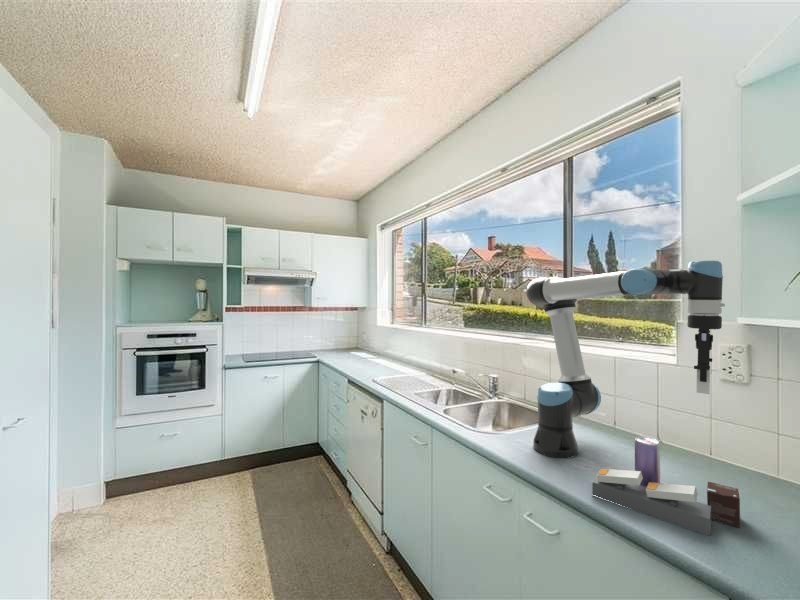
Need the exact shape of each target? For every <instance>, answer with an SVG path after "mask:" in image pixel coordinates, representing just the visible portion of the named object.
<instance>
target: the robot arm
mask: <svg viewBox="0 0 800 600" xmlns="http://www.w3.org/2000/svg"><path fill="white" fill-rule="evenodd" d="M723 279H724V275H723V264H722V262H721V261H719V260H697V261H690V262H689V263H688V265H687V268H680V269H676V268H675V269H661V268H660V269H659V268H658V269H657V268H656V269H655V268H654V269H653V268H644V267H639V268H636V267H635V268H632V269H629V270H625V271H624V270H622V271H615V272H607V273H600V274H592V275H584V276H575V277H568V278H566V277H565V278H564V277H560V276H559V277H537V278H534V279H532V280H531V281H530V282H529V283H528V285H527V287H526V292H525V293H526V297H527V300H528V301H529V302H530V303H531V304H532V305H533V306H536V307H541V308H543V309H544V313H545V314H546V315H547V316H549V319H550V325H551V330H552V334H553V339H554V344H555V350H556V355H557V359H558V365H559V370H560V374H561V375H560V378H559V379H558V382H548V383H544V384H542V385H540V386H539V387H538V390H537V418H538V419H537V421H538V422H537V425H538V426H537V429H536V432H535V435H534V438H533V448H535V449H536V450H537V451H536V450H535V449H534V450H535V451H536V452H538V453H540V454H542V455H544V454H545V456H547V455H548V457H551V458H558V459H560V458H561V459H570V458H574V457H577V456H578V454H579V445H578V442H577V439H576V436H575V434H574V427H573V426H574V425H573V418H576V417H580V416H583V415H588V414H591V413H592V412H595V411H596V410H597V409H599V407H600V405H601V402H602V394H601V391H600V389H599V387H597V386H596V384H594V383H593V382H592V378H591V376H589V375H588V374H587V373H586V369H585V365H584V361H583V355H582V351H581V347H580V341H579V337H578V336H579V335H578V331H577V328H576V322H575V316H574V314H573V313H574V312H575V310H576V309H577V307H576V302H577V301H578V300H582V299H583V300H584V299H595V298H605V297H606V298H608V297H621V296H625V297H626V296H639V295H640V296H641V295H681V294H682V295H687V307H686V308H687V313H688V315H687V327H688V328H690V329H698V330H697V331H698V333H695V335H694V341H695V349H696V350H697V364H696V365H693V369H694V370H696V393H698V394H705V395H710V389H711V388H710V386H711V385H710V382H711V381H710V380H711V378H710V377H711V376H710V374H711V373H710V372H711V365H710V363H712V362H713V358H712V357H711V358H710V356H711V355H710V354H711V353H710V352H711V351H712V348H713V345H712V344H713V342H714V335H713V334H710V333H711V331H710V330H720V329H722V326H723V323H722V321H723V318H722V316H721V314H722V307H725V306H726V304H725V303H724V302H722V300H723V281H724V280H723Z"/></svg>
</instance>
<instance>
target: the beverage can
mask: <svg viewBox="0 0 800 600" xmlns="http://www.w3.org/2000/svg"><path fill="white" fill-rule="evenodd" d="M634 471H641V473H642V477H643V479H642V481H641V483H640V485H642V486H645V487H647V486H648V483H649V482H653V483H661V445H660V442H659V441H658V440H657V439H655V438H652V437H650V436H649V437H648V436H636V437H635V440H634Z"/></svg>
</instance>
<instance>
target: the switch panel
mask: <svg viewBox="0 0 800 600" xmlns="http://www.w3.org/2000/svg"><path fill="white" fill-rule="evenodd" d="M591 488H592V489H591V491H592V493H591V494H593V495H596V496H598V497H601V498H603V499H606V500H609V501H612V502H614V503H617V504H620V505H622V506H621V507H623V506H625V507H628V508H631V509H633V510H632V511H634V510H636V511H635V512H637V511H638V513H640V512H641V514H643V513H644V514H643V515H647V516H650V517H652V518H655V519H659V520H662V521H664V522H667V523H670V524H673V525H676V526H679V527H682V528H685V529H687V530H690V529H691V530H690V531H693V530H694V532H696V531H697V532H696V533H699V534H702V535H705V536H709V537H710V536H711V527H712V520H711V506H709V505H707V503H704V502H703V503H702V502H699V501H696V502H689V501H679V500H670V499H660V498H651V497H647V493H646V488H647V487H645V486H642V485H629V484H617V483H606V482H598V478H597V476H595V478H594V479H593V481H592V486H591ZM614 503H613V504H614ZM617 504H616V505H617ZM620 505H619V506H620ZM625 507H624V508H625ZM628 508H627V509H628ZM631 509H630V510H631Z"/></svg>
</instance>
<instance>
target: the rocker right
mask: <svg viewBox="0 0 800 600" xmlns="http://www.w3.org/2000/svg"><path fill="white" fill-rule="evenodd" d="M646 493H647V497H651V498H660V499H670V500H679V501H689V502H697V499H698V494H699V493H698V490H697V487H696V485H687V484H673V483H661V482H660V483H653V482H649V483H648V486H647V488H646Z"/></svg>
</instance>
